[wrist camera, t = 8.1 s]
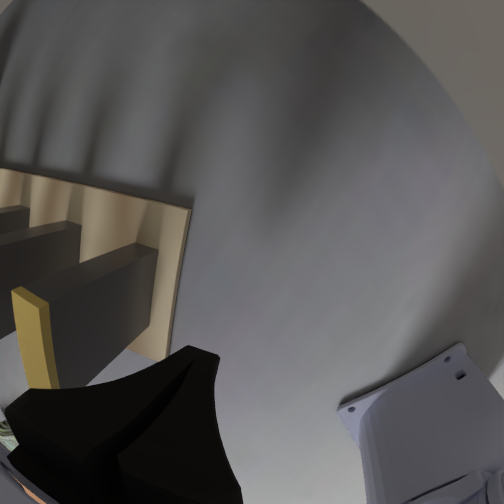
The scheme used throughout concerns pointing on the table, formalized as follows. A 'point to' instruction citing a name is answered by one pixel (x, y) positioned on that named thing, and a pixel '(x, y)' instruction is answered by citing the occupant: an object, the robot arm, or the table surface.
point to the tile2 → (34, 260)
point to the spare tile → (84, 316)
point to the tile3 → (14, 218)
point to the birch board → (112, 236)
